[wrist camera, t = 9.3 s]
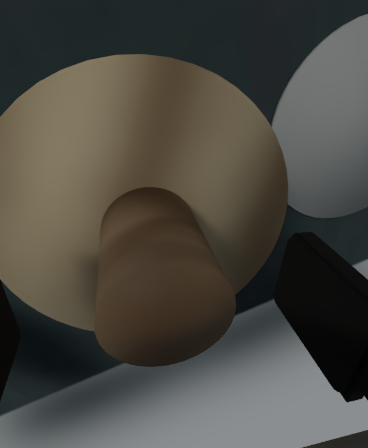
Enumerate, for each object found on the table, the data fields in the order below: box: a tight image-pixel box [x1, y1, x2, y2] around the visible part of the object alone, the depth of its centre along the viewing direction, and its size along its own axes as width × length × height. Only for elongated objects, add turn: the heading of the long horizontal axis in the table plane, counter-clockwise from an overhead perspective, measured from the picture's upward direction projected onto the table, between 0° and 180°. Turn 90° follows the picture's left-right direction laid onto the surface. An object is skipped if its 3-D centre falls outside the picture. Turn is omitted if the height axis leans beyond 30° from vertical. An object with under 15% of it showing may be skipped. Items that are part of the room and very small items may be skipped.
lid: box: [0, 54, 288, 367], centre depth 10 cm, size 13×13×6 cm
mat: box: [271, 14, 368, 218], centre depth 20 cm, size 14×14×1 cm
